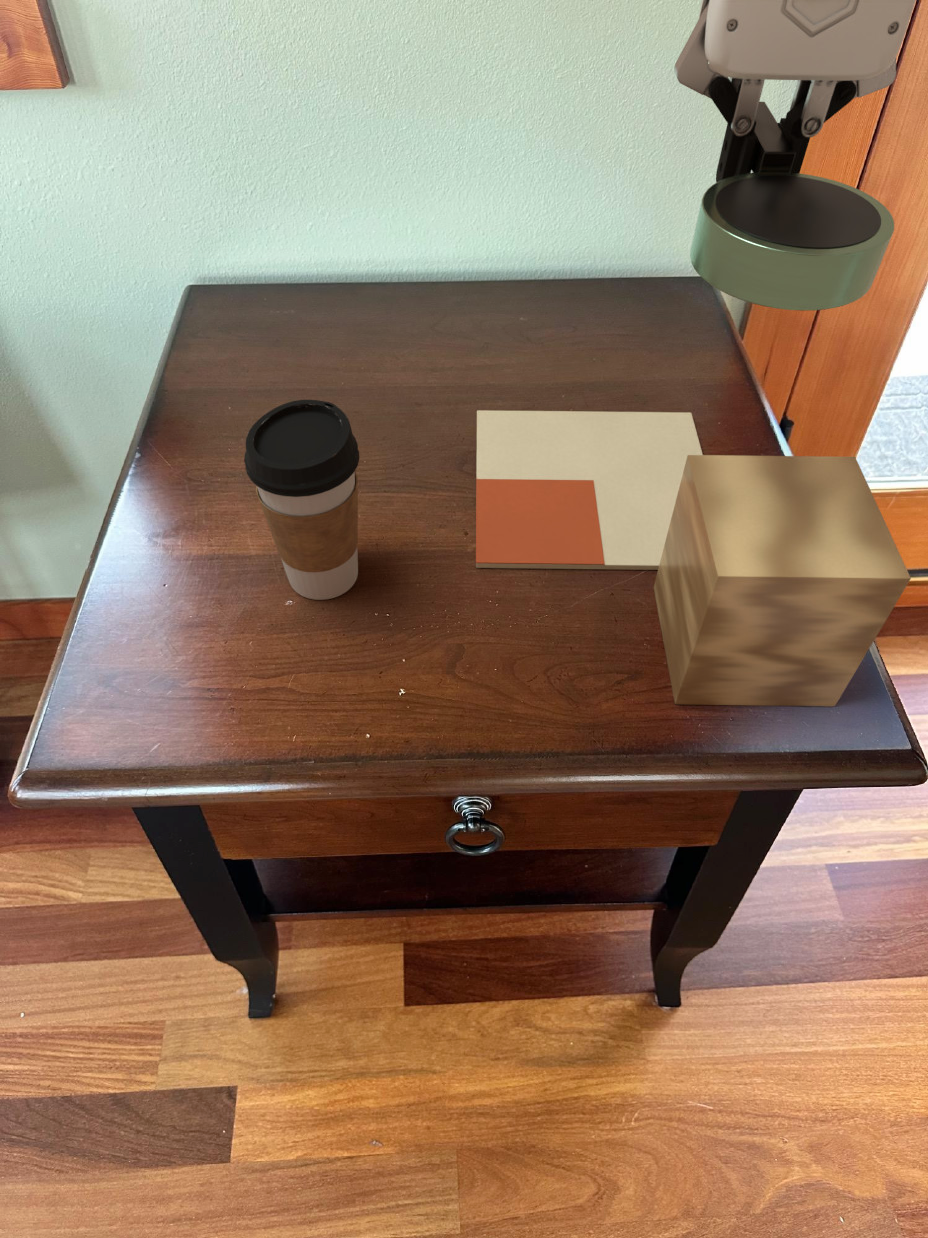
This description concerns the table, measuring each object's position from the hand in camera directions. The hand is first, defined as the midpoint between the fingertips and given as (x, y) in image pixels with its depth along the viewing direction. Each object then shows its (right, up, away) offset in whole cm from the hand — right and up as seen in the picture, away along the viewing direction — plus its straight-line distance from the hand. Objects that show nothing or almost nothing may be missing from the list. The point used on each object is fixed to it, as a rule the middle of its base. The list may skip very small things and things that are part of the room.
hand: (751, 195), depth 52 cm
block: (+4, -28, +15) cm, 32 cm away
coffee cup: (-30, -23, +20) cm, 42 cm away
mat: (-6, -14, +27) cm, 31 cm away
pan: (0, -3, -2) cm, 4 cm away
